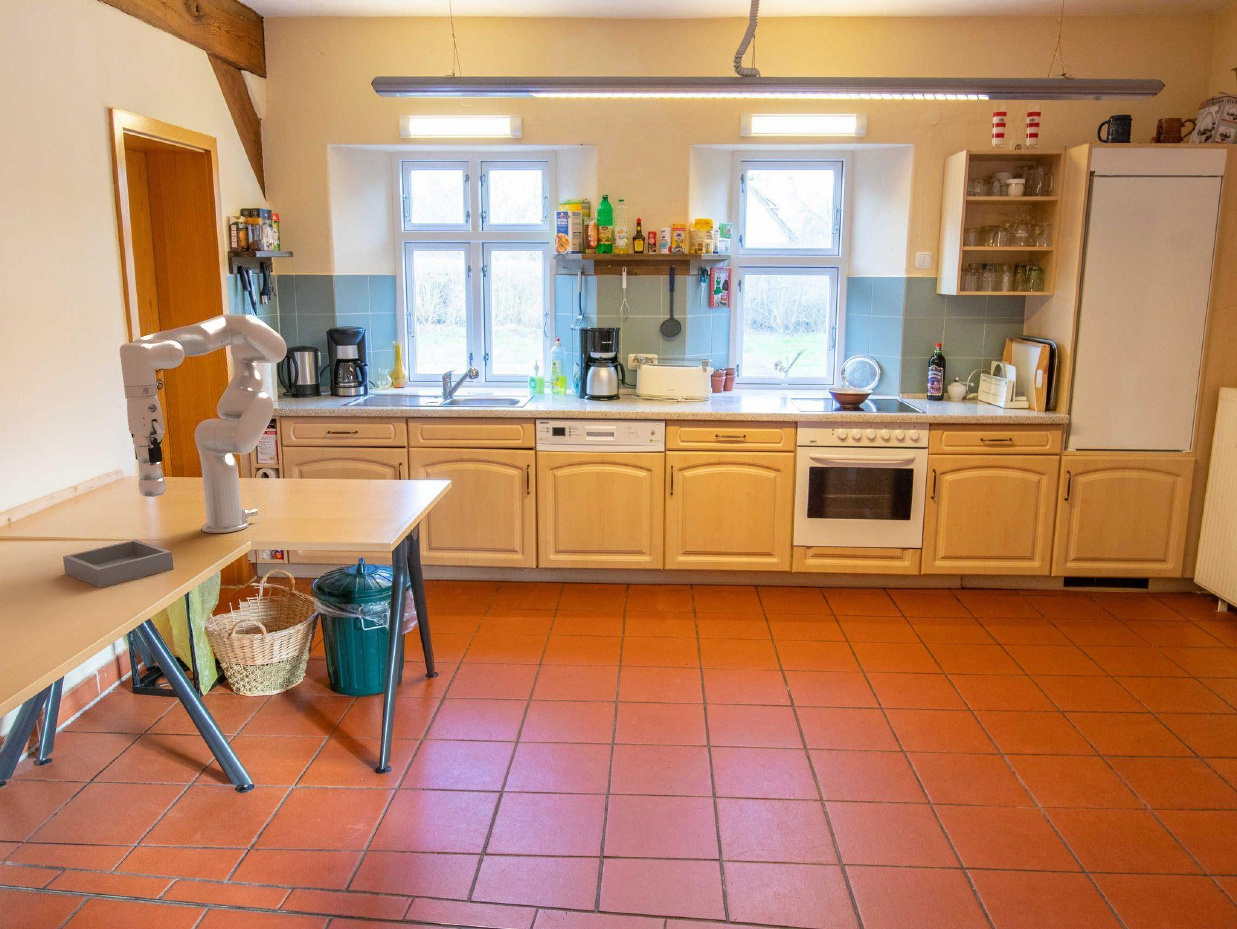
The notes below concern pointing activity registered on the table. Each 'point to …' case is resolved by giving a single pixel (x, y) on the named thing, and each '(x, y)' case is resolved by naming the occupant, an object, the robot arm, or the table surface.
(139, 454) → the plastic bottle
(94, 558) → the bin
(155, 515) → the table surface
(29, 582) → the table surface
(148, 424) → the robot arm
